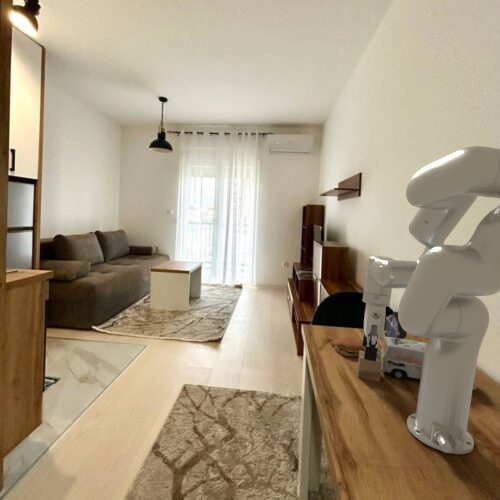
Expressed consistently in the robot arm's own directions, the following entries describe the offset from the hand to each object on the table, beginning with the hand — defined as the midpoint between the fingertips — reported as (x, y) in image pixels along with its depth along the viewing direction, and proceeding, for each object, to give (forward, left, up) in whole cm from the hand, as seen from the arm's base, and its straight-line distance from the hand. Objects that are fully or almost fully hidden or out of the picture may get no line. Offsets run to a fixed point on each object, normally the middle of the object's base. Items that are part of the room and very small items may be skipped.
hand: (368, 353), depth 98 cm
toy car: (+5, -17, -7) cm, 19 cm away
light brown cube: (-1, 0, -7) cm, 7 cm away
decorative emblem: (+23, -10, -7) cm, 26 cm away
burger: (+15, +5, -7) cm, 17 cm away
